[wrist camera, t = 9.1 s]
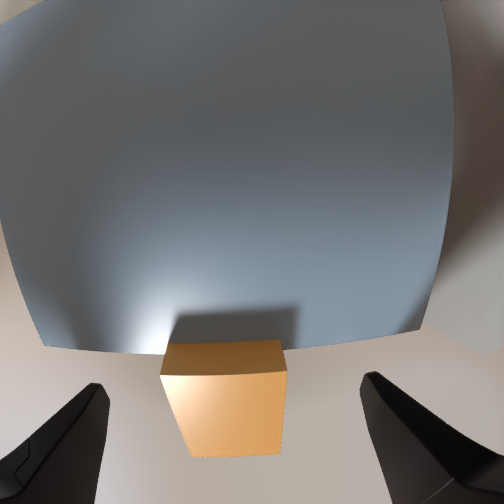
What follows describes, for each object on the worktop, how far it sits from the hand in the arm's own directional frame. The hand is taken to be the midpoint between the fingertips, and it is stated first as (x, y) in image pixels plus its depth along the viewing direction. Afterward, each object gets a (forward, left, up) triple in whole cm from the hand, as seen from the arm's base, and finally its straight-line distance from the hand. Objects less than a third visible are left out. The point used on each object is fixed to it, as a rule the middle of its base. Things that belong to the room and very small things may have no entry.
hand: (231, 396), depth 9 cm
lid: (0, -5, -2) cm, 5 cm away
